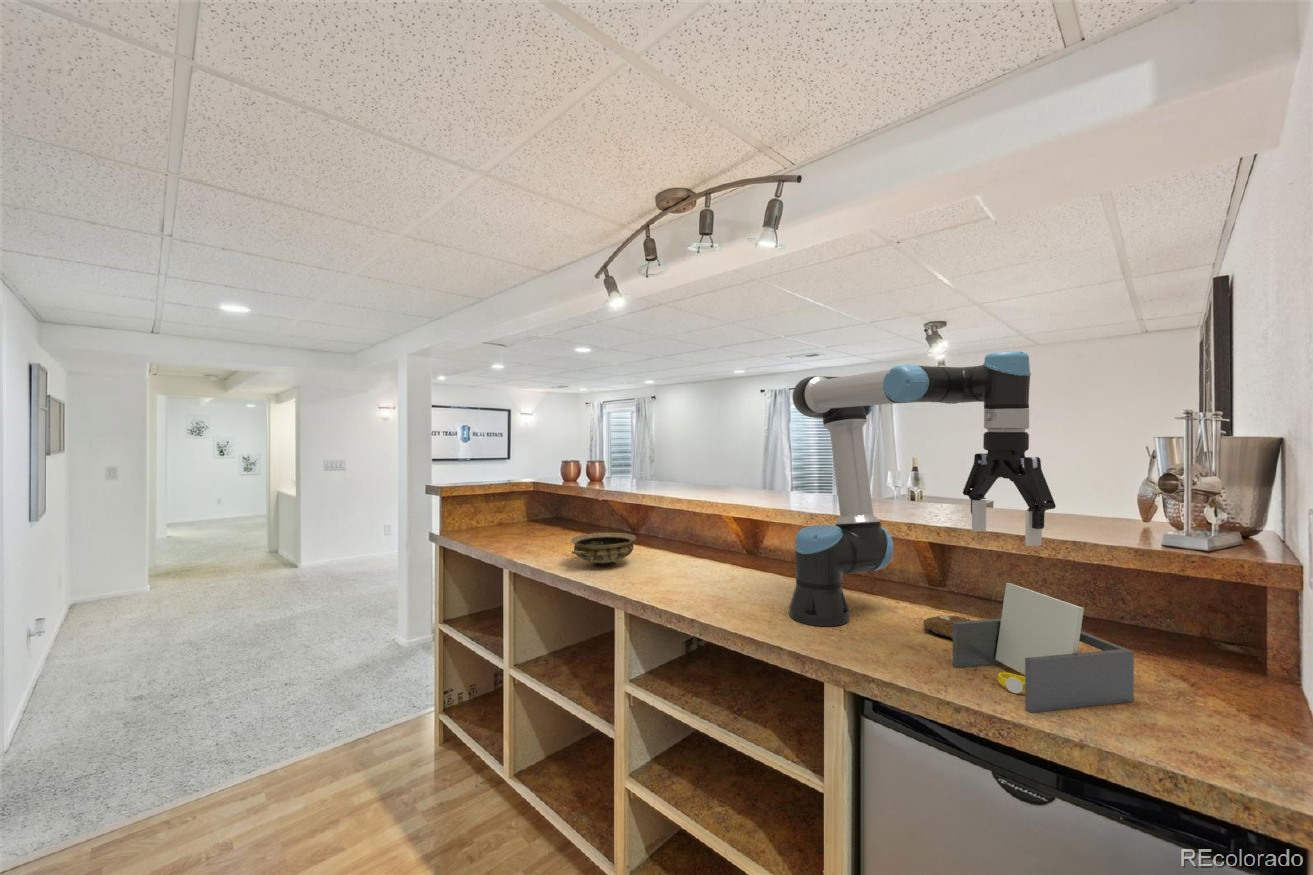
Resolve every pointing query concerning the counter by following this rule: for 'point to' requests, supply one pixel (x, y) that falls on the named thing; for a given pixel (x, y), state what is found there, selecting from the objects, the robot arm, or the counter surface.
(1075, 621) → the trapdoor
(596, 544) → the ceramic bowl
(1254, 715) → the counter surface
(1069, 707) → the stand
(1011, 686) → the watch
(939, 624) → the decorative rock
